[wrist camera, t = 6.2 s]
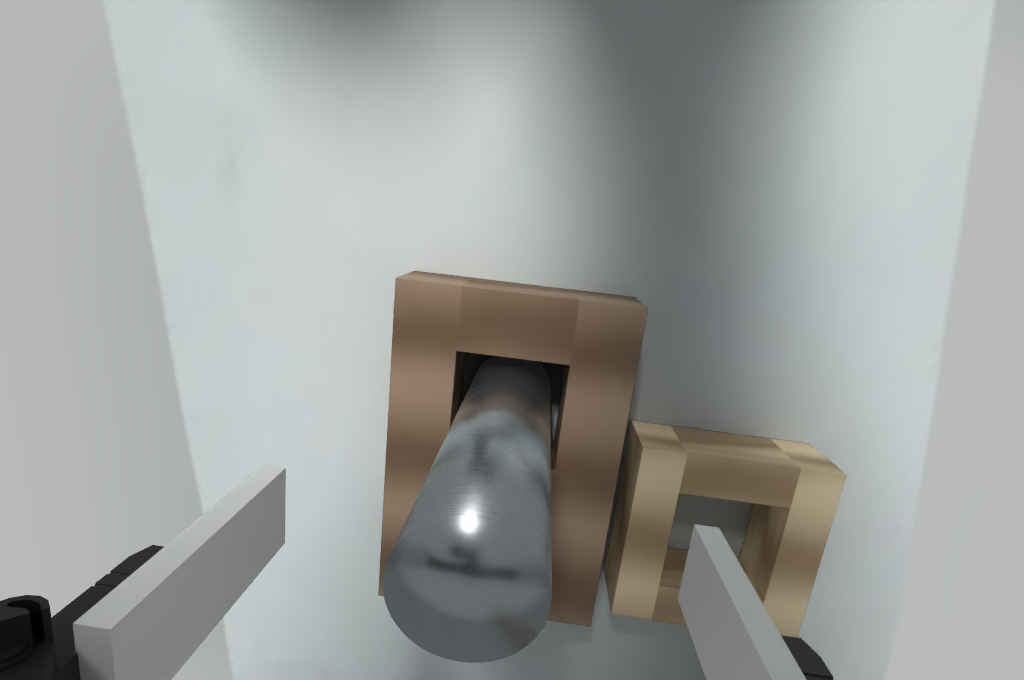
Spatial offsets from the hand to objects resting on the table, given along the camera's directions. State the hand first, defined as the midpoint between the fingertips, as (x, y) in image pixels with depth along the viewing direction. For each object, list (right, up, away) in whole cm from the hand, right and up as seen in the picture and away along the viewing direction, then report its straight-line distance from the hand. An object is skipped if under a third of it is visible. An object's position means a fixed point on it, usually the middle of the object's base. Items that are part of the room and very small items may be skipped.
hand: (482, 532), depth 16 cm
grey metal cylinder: (+1, +3, +12) cm, 13 cm away
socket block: (+1, 0, +13) cm, 13 cm away
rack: (+12, -4, +13) cm, 19 cm away
